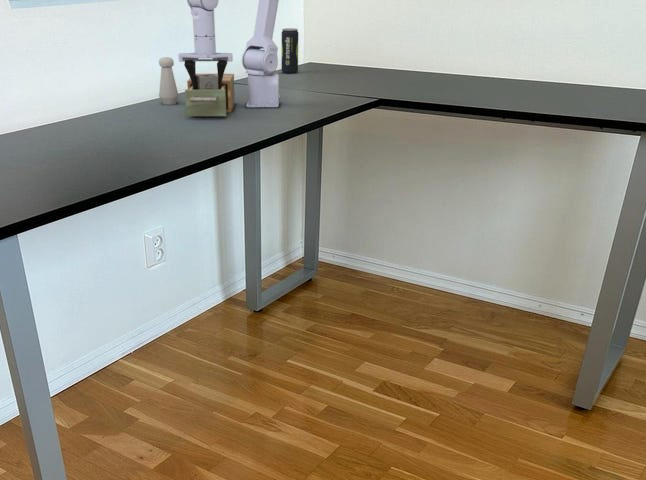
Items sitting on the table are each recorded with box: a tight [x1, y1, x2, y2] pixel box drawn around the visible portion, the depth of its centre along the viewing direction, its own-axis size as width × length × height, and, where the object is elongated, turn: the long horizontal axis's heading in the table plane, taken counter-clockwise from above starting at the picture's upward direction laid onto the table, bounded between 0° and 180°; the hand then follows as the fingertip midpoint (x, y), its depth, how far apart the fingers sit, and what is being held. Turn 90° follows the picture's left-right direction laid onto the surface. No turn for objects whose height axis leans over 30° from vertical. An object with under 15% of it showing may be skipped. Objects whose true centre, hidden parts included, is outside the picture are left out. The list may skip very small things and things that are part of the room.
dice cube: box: [196, 73, 218, 90], centre depth 194 cm, size 5×5×5 cm
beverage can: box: [281, 27, 299, 75], centre depth 262 cm, size 6×6×15 cm
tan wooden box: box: [186, 73, 236, 114], centre depth 206 cm, size 14×12×9 cm
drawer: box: [184, 84, 227, 117], centre depth 195 cm, size 18×11×7 cm, turn 178°
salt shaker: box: [158, 56, 179, 106], centre depth 211 cm, size 6×6×13 cm
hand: (207, 89), depth 195 cm, fingers closed on dice cube, 6 cm apart
